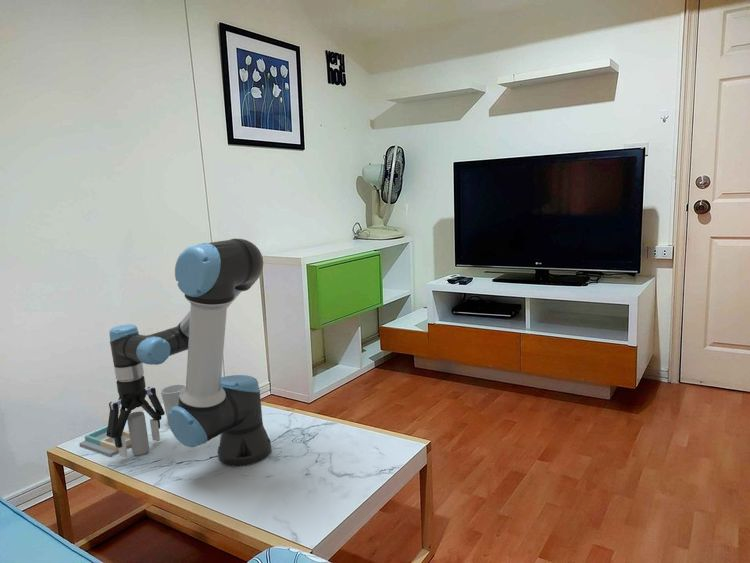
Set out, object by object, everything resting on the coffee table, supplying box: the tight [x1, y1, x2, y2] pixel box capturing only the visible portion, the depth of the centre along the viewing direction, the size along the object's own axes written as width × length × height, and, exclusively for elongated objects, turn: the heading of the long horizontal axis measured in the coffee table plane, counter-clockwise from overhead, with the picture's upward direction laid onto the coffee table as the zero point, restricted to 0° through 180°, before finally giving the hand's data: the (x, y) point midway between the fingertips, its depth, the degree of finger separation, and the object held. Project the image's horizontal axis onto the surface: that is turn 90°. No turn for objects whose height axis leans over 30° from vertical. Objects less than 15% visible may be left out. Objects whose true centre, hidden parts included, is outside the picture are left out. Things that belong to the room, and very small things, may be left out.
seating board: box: [78, 425, 132, 458], centre depth 168 cm, size 16×12×2 cm
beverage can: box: [126, 411, 150, 456], centre depth 160 cm, size 5×5×12 cm
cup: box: [160, 383, 186, 427], centre depth 180 cm, size 8×8×12 cm
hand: (140, 448), depth 161 cm, fingers open, 10 cm apart
